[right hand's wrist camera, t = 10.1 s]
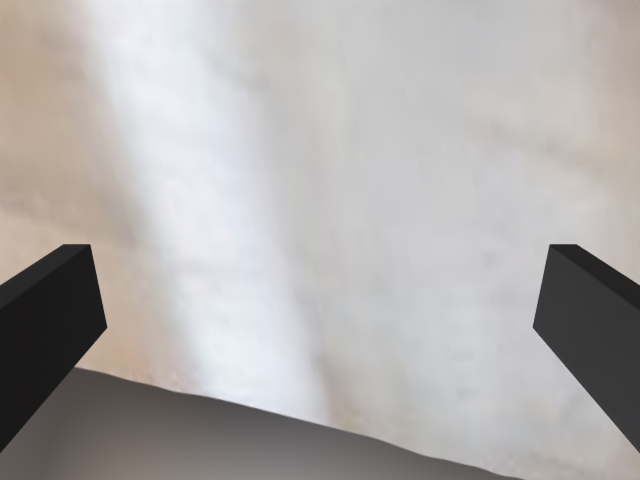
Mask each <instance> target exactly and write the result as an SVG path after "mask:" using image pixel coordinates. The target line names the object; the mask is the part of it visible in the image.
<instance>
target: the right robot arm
mask: <svg viewBox="0 0 640 480" xmlns="http://www.w3.org/2000/svg"><path fill="white" fill-rule="evenodd" d="M106 329H107V323H106V319H105V314H104V309H103V304H102V299H101V294H100V289H99V284H98V280H97V275H96V270H95V265H94V260H93V255H92V250H91V245H90V244H63V245H62V246H60V247H59V248H57V249H56V250H54V251H52V252H51V253H49V254H48V255H46V256H45V257H43V258H42V259H40V260H39V261H37V262H36V263H34V264H32V265H31V266H29V267H28V268H26V269H25V270H23V271H22V272H20V273H19V274H17V275H15V276H14V277H12V278H11V279H9V280H8V281H6V282H5V283H3V284H2V285H0V453H1V452H2V450H3V449H4V448H5V447H6V446H7V445H8V444H9V442H10V441H11V440H12V439H13V438H14V436H15V435H16V434H17V433H18V432H19V431H20V429H21V428H22V427H23V426H24V425H25V424H26V422H27V421H28V420H29V419H30V418H31V416H32V415H33V414H34V413H35V412H36V411H37V410H38V408H39V407H40V406H41V405H42V404H43V402H44V401H45V400H46V399H47V398H48V397H49V395H50V394H51V393H52V392H53V391H54V390H55V388H56V387H57V386H58V385H59V384H60V383H61V381H62V380H63V379H64V378H65V377H66V375H67V374H68V373H69V372H70V371H71V370H72V368H73V367H74V366H75V365H76V364H77V363H78V361H79V360H80V359H81V358H82V357H83V356H84V354H85V353H86V352H87V351H88V350H89V348H90V347H91V346H92V345H93V344H94V343H95V341H96V340H97V339H98V338H99V337H100V336H101V334H102V333H103V332H104V331H105V330H106ZM533 329H534V330H535V331H536V332H537V333H538V334H539V336H540V337H541V338H542V339H543V340H544V341H545V343H546V344H547V345H548V346H549V347H550V349H551V350H552V351H553V352H554V353H555V354H556V356H557V357H558V358H559V359H560V360H561V361H562V363H563V364H564V365H565V366H566V367H567V368H568V370H569V371H570V372H571V373H572V374H573V375H574V377H575V378H576V379H577V380H578V381H579V383H580V384H581V385H582V386H583V387H584V388H585V390H586V391H587V392H588V393H589V394H590V395H591V397H592V398H593V399H594V400H595V401H596V402H597V404H598V405H599V406H600V407H601V408H602V410H603V411H604V412H605V413H606V414H607V415H608V417H609V418H610V419H611V420H612V421H613V422H614V424H615V425H616V426H617V427H618V428H619V429H620V431H621V432H622V433H623V434H624V435H625V436H626V438H627V439H628V440H629V441H630V442H631V444H632V445H633V446H634V447H635V448H636V449H637V451H638V452H639V453H640V285H638V284H637V283H635V282H634V281H632V280H631V279H629V278H628V277H626V276H625V275H623V274H621V273H620V272H618V271H617V270H615V269H614V268H612V267H611V266H609V265H608V264H606V263H604V262H603V261H601V260H600V259H598V258H597V257H595V256H594V255H592V254H591V253H589V252H588V251H586V250H584V249H583V248H581V247H580V246H578V245H577V244H550V245H549V250H548V255H547V260H546V265H545V270H544V275H543V280H542V284H541V289H540V294H539V299H538V304H537V309H536V314H535V319H534V323H533Z"/></svg>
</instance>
